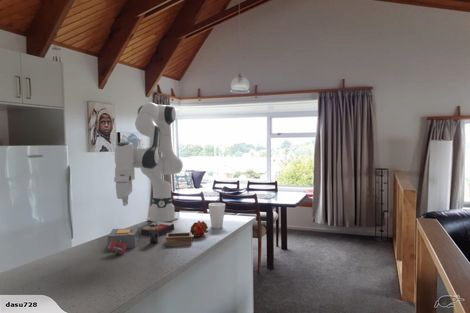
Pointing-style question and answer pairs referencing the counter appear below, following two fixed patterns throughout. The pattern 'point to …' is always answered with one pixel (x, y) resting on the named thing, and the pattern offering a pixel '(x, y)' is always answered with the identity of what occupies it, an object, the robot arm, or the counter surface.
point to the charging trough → (178, 239)
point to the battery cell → (153, 233)
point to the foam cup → (216, 214)
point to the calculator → (159, 228)
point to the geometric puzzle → (117, 246)
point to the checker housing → (124, 237)
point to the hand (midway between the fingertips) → (125, 205)
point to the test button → (123, 231)
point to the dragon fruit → (199, 229)
